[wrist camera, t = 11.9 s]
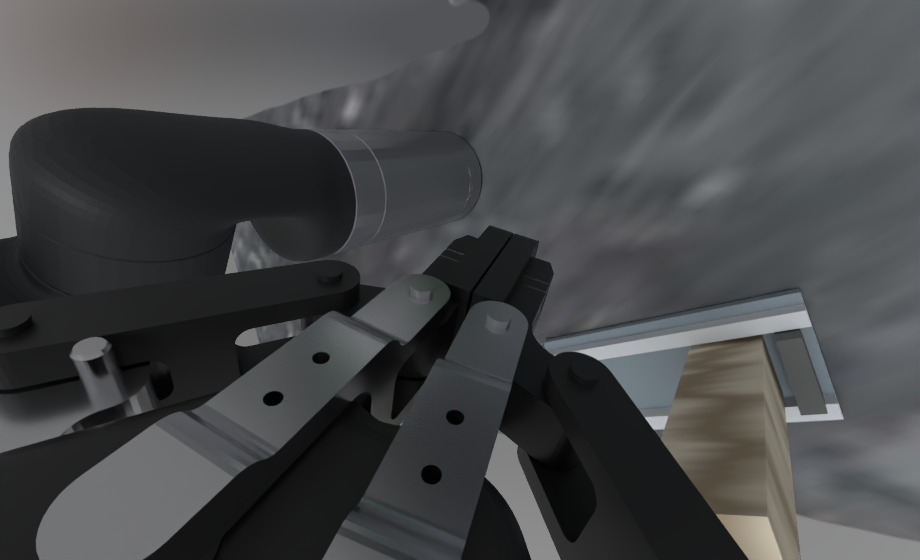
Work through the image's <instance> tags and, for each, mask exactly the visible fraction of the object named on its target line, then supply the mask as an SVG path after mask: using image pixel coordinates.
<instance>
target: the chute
mask: <svg viewBox="0 0 920 560" xmlns="http://www.w3.org/2000/svg"><path fill="white" fill-rule="evenodd" d="M761 334H763V337H764V340H765V343H766V346H767V349H768V352H769V354H770V357H771V360H772V363H773V366H774V369H775V372H776V374H777V377H778V380H779V383H780V386H781V389H782V392H783V396H784V405H785V415H786V423H796V422H815V421H834V420H844V417H843V414H842V411H841V408H840V405H839V402H838V400H837V397H836V394H835V391H834V388H833V385H832V382H831V379H830V376H829V373H828V370H827V367H826V364H825V361H824V359H823V356H822V353H821V350H820V347H819V344H818V341H817V338H816V335H815V332H814V329H813V326H812V323H811V321H810V318H809V315H808V312H807V309H806V306H805V303H804V300H803V297H802V294H801V291H800V288H798V289H793V290H788V291H783V292H778V293H773V294H768V295H763V296H758V297H753V298H748V299H743V300H738V301H734V302H729V303H724V304H719V305H714V306H709V307H704V308H699V309H694V310H689V311H684V312H679V313H674V314H669V315H664V316H660V317H655V318H650V319H645V320H640V321H635V322H630V323H625V324H620V325H615V326H610V327H605V328H600V329H595V330H590V331H586V332H581V333H576V334H571V335H566V336H561V337H556V338H551V339H547V340H546V341H545V342H544V346H545V348H546V350H547V351H548V352H549V353H551V354H552V355H554V356H555V355H557V354H559V353H562V352H579V353H583V354H586V355H589V356H591V357H593V358H595V359H597V360H599V361H600V362H601V363H603V364H604V365H605V366H606V367H607V368H608V369H609V370H610V371H611V372H612V374H613V375H614V376H615V378H616V379H617V381H618V382H619V383H620V385H621V386H622V387H623V389H624V390H625V391H626V393H627V394H628V396H629V397H630V398H631V400H632V401H633V402H634V404H635V405H636V406H637V408H638V409H639V411H640V412H641V413H642V415H643V416H644V417H645V419H646V420H647V421H648V423H649V424H650V425H651V427H652V428H653V430H664V428H665V425H666V422H667V419H668V415H669V412H670V409H671V406H672V403H673V400H674V397H675V393H676V390H677V387H678V384H679V381H680V378H681V374H682V371H683V368H684V365H685V362H686V359H687V355H688V352H689V349H690V346H691V345H698V344H704V343H710V342H717V341H723V340H729V339H736V338H742V337H748V336H755V335H761Z"/></svg>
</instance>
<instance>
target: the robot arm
mask: <svg viewBox="0 0 920 560" xmlns="http://www.w3.org/2000/svg"><path fill="white" fill-rule="evenodd" d="M9 168H10V177H11V185H12V195H13V204H14V212H15V220H16V229H17V236H15V237H11V238H5V239H0V560H531V558H530V555H529V552H528V549H527V546H526V543H525V540H524V537H523V534H522V532H521V529H520V526H519V524H518V522H517V520H516V518H515V516H514V514H513V512H512V510H511V508H510V507H509V505H508V504H507V502H506V501H505V499H504V498H503V497H502V495H501V494H500V493H499V492H498V490H497V489H496V488H495V487H494V486H493V485H492V484H491V483H490V482H489V481H488V480H487V479H486V478H485V475H486V472H487V468H488V464H489V461H490V458H491V455H492V451H493V448H494V444H495V441H496V438H497V434H498V431H499V430H500V431H501V432H502V433H504V434H505V435H506V436H507V437H508V438H510V439H511V440H512V441H513V442H514V443H516V444H517V445H518V450H517V454H518V459H519V462H520V464H521V466H522V469H523V471H524V474H525V476H526V478H527V481H528V483H529V485H530V488H531V490H532V492H533V495H534V497H535V499H536V502H537V504H538V507H539V509H540V511H541V514H542V516H543V519H544V521H545V523H546V526H547V528H548V530H549V533H550V535H551V537H552V540H553V542H554V545H555V547H556V549H557V552H558V554H559V556H560V559H561V560H749V559H748V558H747V556H746V555H745V554H744V552H743V551H742V549H741V548H740V547H739V545H738V544H737V543H736V541H735V540H734V539H733V537H732V536H731V534H730V533H729V532H728V530H727V529H726V528H725V526H724V525H723V524H722V522H721V521H720V519H719V518H718V517H717V515H716V514H715V513H714V511H713V510H712V509H711V507H710V506H709V505H708V503H707V502H706V500H705V499H704V498H703V496H702V495H701V494H700V492H699V491H698V490H697V488H696V487H695V485H694V484H693V483H692V481H691V480H690V479H689V477H688V476H687V475H686V473H685V472H684V470H683V469H682V468H681V466H680V465H679V464H678V462H677V461H676V460H675V458H674V457H673V455H672V454H671V453H670V451H669V450H668V449H667V447H666V446H665V445H664V443H663V442H662V440H661V439H660V438H659V436H658V435H657V434H656V432H655V431H654V430H653V428H652V427H651V425H650V424H649V423H648V421H647V420H646V419H645V417H644V416H643V415H642V413H641V412H640V411H639V409H638V408H637V406H636V405H635V404H634V402H633V401H632V400H631V398H630V397H629V396H628V394H627V393H626V391H625V390H624V389H623V387H622V386H621V385H620V383H619V382H618V381H617V379H616V378H615V376H614V375H613V374H612V372H611V371H610V370H609V369H608V368H607V367H606V366H605V365H604V364H603V363H601V362H600V361H599V360H597V359H595V358H593V357H591V356H589V355H586V354H583V353H579V352H562V353H559V354H557V355H555V356H554V355H552V354H551V353H549V352H548V351H547V350H545V349H544V348H543V347H542V346H541V345H540V344H539V343H538V342H537V341H536V339H535V337H534V335H533V330H534V328H535V326H536V323H537V321H538V319H539V316H540V313H541V310H542V307H543V304H544V301H545V299H546V296H547V293H548V290H549V287H550V284H551V281H552V278H553V275H554V273H553V270H552V266H551V263H549V262H546V261H543V260H540V259H537V258H535V255H536V252H537V249H538V244H539V241H536V240H533V239H530V238H527V237H524V236H521V235H518V234H513V233H512V232H509V231H506V230H502V229H499V228H496V227H493V226H488V228H487V229H486V230H485V231H484V232H483V233H482V235H481V236H480V237H479V238H475V237H472V236H469V235H467V236H464V237H462V238H459V239H456V240H454V241H453V242H452V243H451V244H450V245H449V246H448V247H447V250H445V251H444V252H443V253H442V254H441V256H439V257H438V258H437V259H436V260H435V261H434V262H433V263H432V264H431V265H430V266H429V267H428V268H427V269H426V270H425V271H424V272H423V273H422V274H411V275H406V276H403V277H400V278H399V279H397V280H396V281H395V282H393V283H392V284H391V285H390V286H388V287H387V288H381V287H374V286H367V285H361V284H360V274H359V271H358V270H357V269H356V268H355V267H354V266H352V265H350V264H348V263H345V262H342V261H336V260H323V261H315V262H308V263H301V264H294V265H287V266H280V267H273V268H266V269H258V270H251V271H244V272H237V273H230V274H225V271H226V267H227V263H228V259H229V254H230V250H231V246H232V241H233V237H234V232H235V228H236V223H240V222H244V221H249V220H250V221H251V223H252V225H253V227H254V228H255V230H256V232H257V233H258V235H259V236H260V238H261V239H262V240H263V241H264V243H265V244H266V245H267V246H268V247H269V248H270V249H271V250H272V251H274V252H275V253H276V254H278V255H279V256H281V257H283V258H286V259H288V260H292V261H309V260H313V259H318V258H321V257H325V256H328V255H332V254H335V253H339V252H343V251H346V250H350V249H354V248H357V247H360V246H364V245H368V244H371V243H375V242H379V241H382V240H386V239H389V238H393V237H397V236H400V235H404V234H408V233H411V232H415V231H419V230H422V229H426V228H430V227H434V226H437V225H441V224H445V223H448V222H452V221H456V220H458V219H460V218H462V217H464V216H465V215H466V214H468V213H469V212H470V211H471V209H472V208H473V207H474V205H475V203H476V201H477V199H478V197H479V193H480V189H481V169H480V165H479V162H478V158H477V157H476V155H475V153H474V151H473V149H472V148H471V147H470V145H469V144H468V143H467V142H466V141H465V140H463V139H462V138H461V137H459V136H457V135H455V134H453V133H448V132H427V131H380V130H314V129H291V128H286V127H281V126H277V125H273V124H268V123H264V122H259V121H253V120H244V119H234V118H218V117H207V116H195V115H184V114H175V113H166V112H155V111H146V110H134V109H120V108H79V109H68V110H61V111H57V112H53V113H48V114H44V115H41V116H39V117H36V118H34V119H32V120H30V121H28V122H26V123H25V124H24V125H22V126H21V127H20V128H19V129H18V130H17V131H16V133H15V134H14V136H13V138H12V140H11V143H10V151H9ZM296 319H301V329H302V332H301V333H299V334H298V335H297V336H294V337H289V338H284V339H280V340H275V341H271V342H266V343H261V344H257V345H253V346H247V347H243V346H238V345H236V344H235V341H236V339H237V337H238V336H239V335H240V334H241V333H242V332H244V331H246V330H248V329H252V328H257V327H262V326H267V325H272V324H277V323H282V322H287V321H291V320H296ZM402 422H403V423H402ZM401 423H402V425H401ZM400 425H401V426H400Z"/></svg>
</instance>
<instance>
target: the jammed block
mask: <svg viewBox="0 0 920 560" xmlns="http://www.w3.org/2000/svg"><path fill="white" fill-rule="evenodd" d="M661 440H662V442H663V443H664V445H665V446H666V447H667V449H668V450H669V451H670V453H671V454H672V455H673V457H674V458H675V460H676V461H677V462H678V464H679V465H680V466H681V468H682V469H683V470H684V472H685V473H686V475H687V476H688V477H689V479H690V480H691V481H692V483H693V484H694V485H695V487H696V488H697V490H698V491H699V492H700V494H701V495H702V496H703V498H704V499H705V500H706V502H707V503H708V505H709V506H710V507H711V509H712V510H713V511H714V513H715V514H716V515H717V517H718V518H719V519H720V521H721V522H722V524H723V525H724V526H725V528H726V529H727V530H728V532H729V533H730V534H731V536H732V537H733V539H734V540H735V541H736V543H737V544H738V545H739V547H740V548H741V549H742V551H743V552H744V554H745V555H746V556H747V558H748V559H749V560H801V558H800V548H799V539H798V530H797V520H796V510H795V500H794V491H793V481H792V472H791V462H790V453H789V443H788V434H787V424H786V415H785V405H784V396H783V392H782V389H781V386H780V383H779V380H778V377H777V374H776V372H775V369H774V366H773V363H772V360H771V357H770V354H769V352H768V349H767V346H766V343H765V340H764V337H763V334H761V335H755V336H748V337H742V338H736V339H729V340H723V341H717V342H710V343H704V344H698V345H691V346H690V349H689V352H688V355H687V359H686V362H685V365H684V368H683V371H682V374H681V378H680V381H679V384H678V387H677V390H676V393H675V397H674V400H673V403H672V406H671V409H670V412H669V415H668V419H667V422H666V425H665V428H664V431H663V434H662V438H661Z"/></svg>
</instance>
